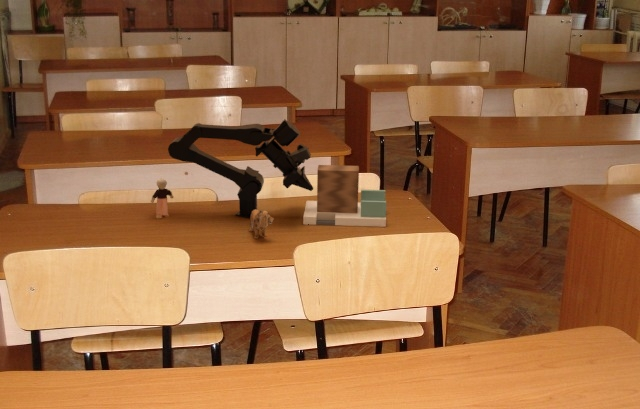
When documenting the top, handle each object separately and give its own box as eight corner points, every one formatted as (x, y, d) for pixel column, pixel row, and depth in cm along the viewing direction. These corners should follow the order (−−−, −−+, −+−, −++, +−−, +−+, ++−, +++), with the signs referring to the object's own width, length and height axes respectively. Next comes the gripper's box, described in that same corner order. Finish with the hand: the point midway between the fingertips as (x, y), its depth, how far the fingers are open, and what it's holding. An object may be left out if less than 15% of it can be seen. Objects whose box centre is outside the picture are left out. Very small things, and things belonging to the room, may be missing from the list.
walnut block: (317, 212, 252) (317, 170, 247) (317, 205, 257) (318, 164, 253) (357, 213, 251) (358, 171, 247) (357, 207, 257) (358, 165, 252)
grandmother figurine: (157, 220, 250) (155, 182, 246) (150, 217, 252) (148, 179, 248) (176, 214, 255) (175, 177, 251) (169, 211, 258) (167, 174, 254)
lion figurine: (275, 240, 235) (275, 212, 232) (258, 243, 233) (258, 214, 230) (257, 224, 247) (257, 197, 245) (241, 227, 245) (241, 199, 242)
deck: (303, 224, 248) (303, 201, 246) (306, 207, 263) (306, 186, 261) (385, 226, 247) (386, 204, 245) (384, 209, 262) (385, 188, 260)
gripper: (293, 146, 239) (329, 181, 242) (298, 131, 256) (331, 165, 259) (267, 170, 242) (303, 205, 245) (274, 154, 259) (307, 187, 262)
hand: (312, 189), depth 253 cm, fingers closed
